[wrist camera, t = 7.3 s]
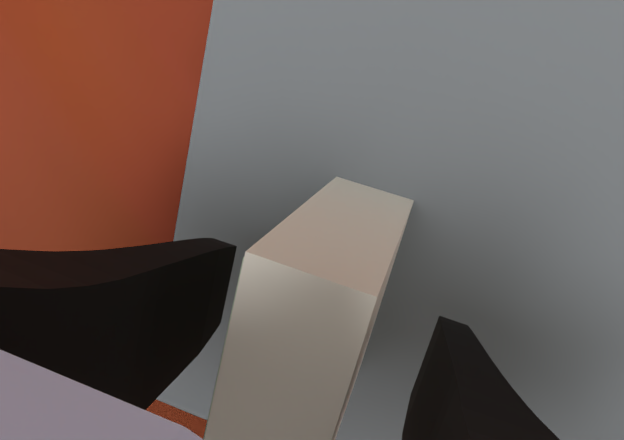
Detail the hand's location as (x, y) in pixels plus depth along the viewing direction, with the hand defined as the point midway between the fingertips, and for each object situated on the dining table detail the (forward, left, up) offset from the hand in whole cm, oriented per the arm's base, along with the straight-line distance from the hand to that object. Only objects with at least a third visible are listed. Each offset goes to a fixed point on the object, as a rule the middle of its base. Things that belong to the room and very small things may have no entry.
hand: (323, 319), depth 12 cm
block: (0, 0, -2) cm, 2 cm away
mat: (+1, -2, -3) cm, 4 cm away
